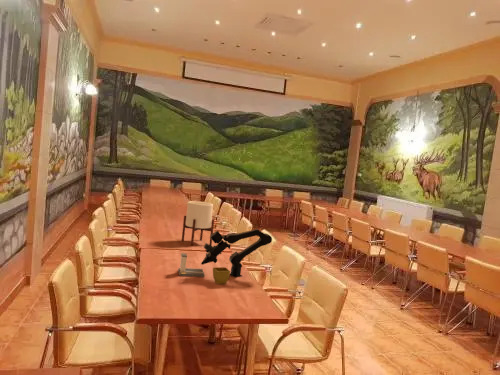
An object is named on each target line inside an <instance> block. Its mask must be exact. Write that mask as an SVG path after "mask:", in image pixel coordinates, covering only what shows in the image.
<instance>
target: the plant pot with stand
mask: <svg viewBox="0 0 500 375" xmlns="http://www.w3.org/2000/svg"><path fill="white" fill-rule="evenodd" d="M213 209H214V204H213V203H211V202H207V201H206V202H205V201H198V200H197V201H195V200H193V201H191V200H189V201H187V206H186V215H183V222H182V223H183V224H182V234H181V235H182V236H181V242H184V241H185V234H186V233H185V230H186V229H191V238H190V246H192V247H193V246H194V240H195V232H196V231H199V230H200V236H199V241H203V234H204V233H203V232H204V231H205V232H210V235H211V234H212V233H214V225H215V219H213V211H214V210H213ZM209 244H210V245H212V244H213V240H212V239H211V238H210V237H209ZM212 246H213V245H212Z"/></svg>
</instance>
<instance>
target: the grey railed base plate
mask: <svg viewBox="0 0 500 375" xmlns="http://www.w3.org/2000/svg"><path fill="white" fill-rule="evenodd" d="M177 272H178V274H179V277H195V278H196V277H202V278H205V272H204V268H193V267H186V269H185V271H180V267H178V270H177Z"/></svg>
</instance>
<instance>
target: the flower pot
mask: <svg viewBox="0 0 500 375" xmlns="http://www.w3.org/2000/svg"><path fill="white" fill-rule="evenodd" d="M229 274H231V270H230V269H228V268H227V267H225V266H224V267H212V276H213V281H214V282H215V284H217V285H226V284H227V282H228V280H229V277H230V275H229Z"/></svg>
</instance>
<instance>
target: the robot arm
mask: <svg viewBox="0 0 500 375" xmlns="http://www.w3.org/2000/svg"><path fill="white" fill-rule="evenodd" d="M210 234H211V233H210ZM256 236H257V237H258V239H257V241H255V242H254V243H252V244H250V245H249V246H247V247H246V248H244V249H243V250H241V251H239V252H237V251H235V252H233V253H232V254H230V256H229V259H228V260H229V262H230V263H231V268H230V274H229V276H231V277H234V278H238V277H243V274H242V273H241V272H242V268H243V265H242V263H241V262H242V261H243V259H244V258H245V257H247V256H249V255H250V254H252V253H253V252H255V251H257V250H258V249H259V248H261V247H264V246H267V245H269V244H271V243H272V241H273V237H272V236H271V235H270V234H268V233H264V232H263V231H261V230H259V228H255V229H251V230H250V229H249V230H247V231H243V232H239V233H238V232H237V233H234V232H233V233H228V234H225V235H222V234H221V233H220V231H219V230H216V231H213V233H212V234H211V235H210V236H209V239H210V238H211V239H212V242H213V243H215V244H216V245H210V243H207V242H205V244H204V245H203V248H204V249H205V257H204V258H203V260H202V261H201V263H200V265H206V264H210V263H212V262H213V263H214V264H216V263H217V262H218V259H217V258H218V256H219V255H221V254H222V252H223V251H225V250H226V249H229V250H231V245H233V244H235V243H237V242H238V241H240V240H244V239H247V238H252V237H256Z"/></svg>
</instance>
